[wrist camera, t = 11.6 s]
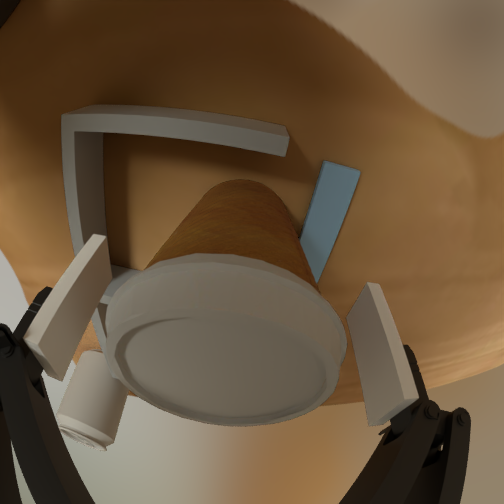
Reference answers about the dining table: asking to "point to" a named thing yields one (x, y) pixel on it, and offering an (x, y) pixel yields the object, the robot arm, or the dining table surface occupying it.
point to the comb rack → (143, 123)
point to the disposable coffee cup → (228, 317)
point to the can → (92, 403)
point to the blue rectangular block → (327, 213)
